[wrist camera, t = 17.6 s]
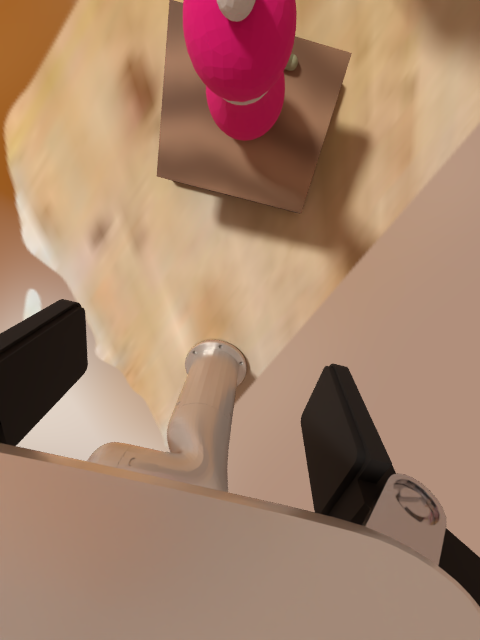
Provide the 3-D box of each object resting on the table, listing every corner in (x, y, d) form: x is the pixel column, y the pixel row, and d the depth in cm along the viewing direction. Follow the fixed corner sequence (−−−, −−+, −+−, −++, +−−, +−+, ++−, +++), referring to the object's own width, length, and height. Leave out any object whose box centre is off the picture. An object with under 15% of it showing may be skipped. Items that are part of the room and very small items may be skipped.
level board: (299, 212, 34) (302, 214, 32) (160, 176, 33) (153, 176, 31) (347, 59, 27) (354, 48, 25) (174, 8, 26) (166, -8, 24)
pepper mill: (281, 57, 26) (339, -198, 9) (279, 144, 30) (318, 87, 12) (209, 62, 27) (124, -170, 9) (215, 147, 30) (161, 97, 12)
